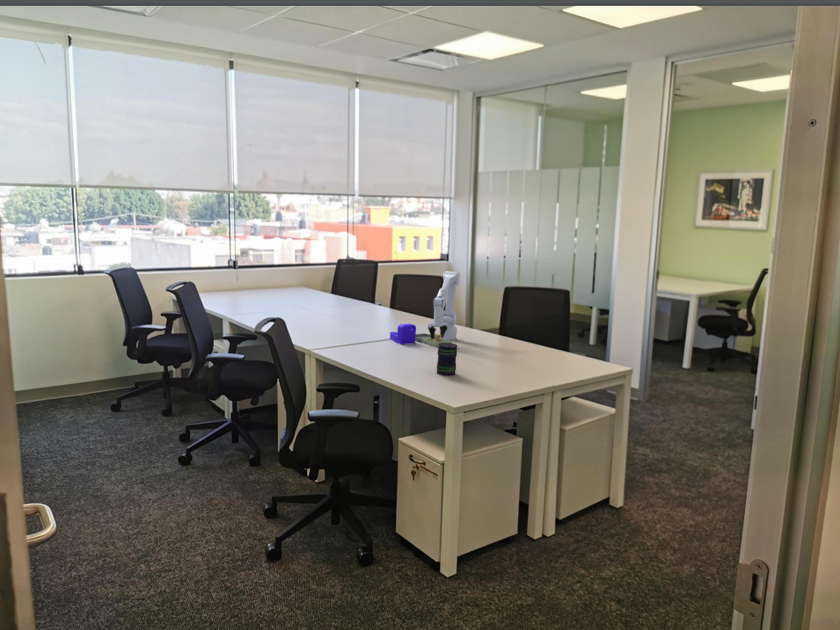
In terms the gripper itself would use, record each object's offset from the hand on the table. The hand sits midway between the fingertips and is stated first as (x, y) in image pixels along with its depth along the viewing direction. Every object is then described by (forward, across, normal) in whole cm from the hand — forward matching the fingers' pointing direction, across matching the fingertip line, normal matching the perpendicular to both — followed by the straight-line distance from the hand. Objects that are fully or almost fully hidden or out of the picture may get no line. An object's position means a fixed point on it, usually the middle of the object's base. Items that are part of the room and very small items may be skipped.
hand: (437, 338), depth 391 cm
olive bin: (+4, 0, 0) cm, 4 cm away
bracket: (+4, +16, -17) cm, 24 cm away
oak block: (+3, 0, 0) cm, 3 cm away
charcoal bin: (+4, 0, -14) cm, 14 cm away
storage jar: (+4, +44, +58) cm, 73 cm away
